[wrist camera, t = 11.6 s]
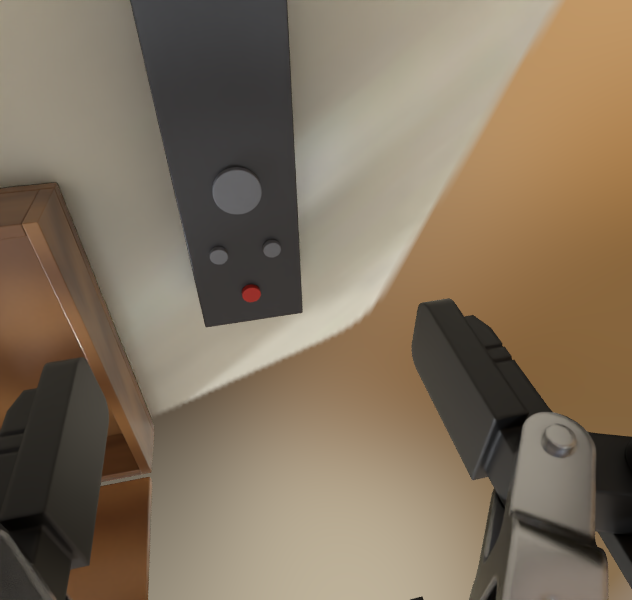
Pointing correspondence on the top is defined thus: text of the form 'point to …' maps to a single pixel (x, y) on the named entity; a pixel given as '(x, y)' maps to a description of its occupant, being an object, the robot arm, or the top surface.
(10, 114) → the top surface
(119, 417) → the chest
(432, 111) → the top surface
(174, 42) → the remote
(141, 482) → the lid
